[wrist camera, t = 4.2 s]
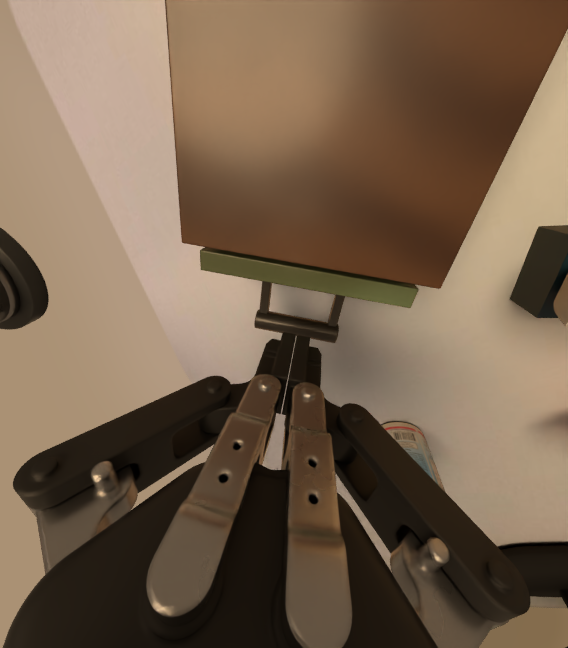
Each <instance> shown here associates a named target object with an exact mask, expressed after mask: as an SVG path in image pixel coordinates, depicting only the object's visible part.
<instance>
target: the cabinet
mask: <svg viewBox="0 0 568 648" xmlns="http://www.w3.org/2000/svg"><path fill="white" fill-rule="evenodd" d="M165 6H166V20H167V34H168V49H169V63H170V77H171V92H172V106H173V120H174V135H175V149H176V163H177V178H178V192H179V206H180V221H181V235H182V243H186V244H192V245H197V246H203V247H209V248H214V249H220V250H225V251H231V252H237V253H242V254H248V255H253V256H259V257H265V258H270V259H276V260H281V261H287V262H293V263H298V264H304V265H309V266H315V267H321V268H326V269H332V270H337V271H343V272H349V273H354V274H360V275H365V276H371V277H377V278H382V279H388V280H393V281H399V282H405V283H410V284H416V285H421V286H427V287H433V288H441V286H442V284H443V282H444V280H445V278H446V276H447V274H448V272H449V270H450V268H451V266H452V264H453V262H454V259H455V257H456V255H457V253H458V251H459V249H460V247H461V245H462V243H463V241H464V239H465V237H466V235H467V233H468V231H469V229H470V227H471V225H472V223H473V221H474V219H475V217H476V215H477V213H478V211H479V209H480V206H481V204H482V202H483V200H484V198H485V196H486V194H487V192H488V190H489V188H490V186H491V184H492V182H493V180H494V178H495V176H496V174H497V172H498V170H499V168H500V166H501V164H502V162H503V160H504V158H505V156H506V154H507V151H508V149H509V147H510V145H511V143H512V141H513V139H514V137H515V135H516V133H517V131H518V129H519V127H520V125H521V123H522V121H523V119H524V117H525V115H526V113H527V111H528V109H529V107H530V105H531V103H532V101H533V99H534V96H535V94H536V92H537V90H538V88H539V86H540V84H541V82H542V80H543V78H544V76H545V74H546V72H547V70H548V68H549V66H550V64H551V62H552V60H553V58H554V56H555V54H556V52H557V50H558V48H559V46H560V43H561V41H562V39H563V37H564V35H565V33H566V31H567V29H568V0H165Z"/></svg>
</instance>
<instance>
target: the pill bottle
mask: <svg viewBox="0 0 568 648" xmlns="http://www.w3.org/2000/svg"><path fill="white" fill-rule="evenodd" d="M381 426H382V427H383V428H384V429H385V430H386V431H387V432H388V433H389V434H390V435H391V436H392V437H393V438H394V439H395V440H396V441H397V442H398V443H399V444H400V446H401V447H402V448H403V449H404V450H405V451H406V452H407V453H408V454H409V455H410V456H411V457H412V458H413V459H414V460H415V461H416V462H417V463H418V464H419V465H420V466H421V468H422V469H423V470H424V471H425V472H426V473H427V474H428V475H429V476H430V477H431V478H432V479H433V480H434V481H435V482H436V483H437V484H438V485H439V486H440V487H441V489H442V490H443V491H444V492H445V490H444V487H443V485H442V482H441V479H440V477H439V474H438V471H437V469H436V466H435V463H434V461H433V458H432V455H431V453H430V450H429V447H428V445H427V442H426V439H425V437H424V435H423V433H422V432H421V431H420V430H419V429H418V428H417V427H415V426H413V425H411V424H408V423H403V422H391V423H386V424H383V425H381Z"/></svg>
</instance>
